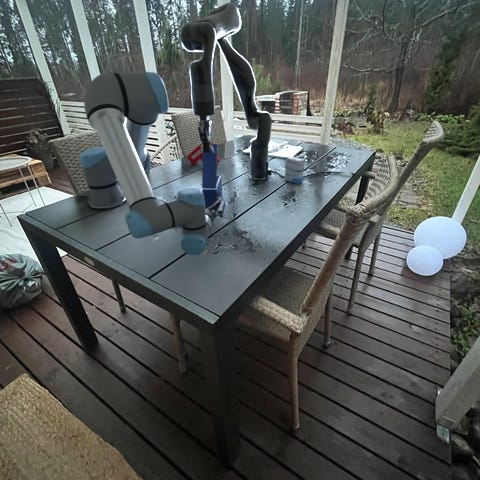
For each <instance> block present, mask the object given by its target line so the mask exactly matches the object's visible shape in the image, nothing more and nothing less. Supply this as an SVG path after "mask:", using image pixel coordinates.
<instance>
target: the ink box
mask: <svg viewBox="0 0 480 480" xmlns="http://www.w3.org/2000/svg"><path fill="white" fill-rule="evenodd" d="M305 162H306V159H304V158H299V157H296V156H294V157H289V158H287V159H286V158H285V169H284V176H285V178H284V181H285V182H289V183H293V184H295V185H298V184H300V183H302V182H303V180H304V178H303V176H304V173H305V171H304V170H305Z"/></svg>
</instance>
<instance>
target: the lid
mask: <svg viewBox="0 0 480 480" xmlns="http://www.w3.org/2000/svg"><path fill="white" fill-rule="evenodd" d="M209 148H210V149H211V150H210V152H209V153H204V152H203V160H201V163H202V166H201V188H202V189H203V188H217V175H218V164H217V156H218V144H217V143H213V144H210V145H209ZM201 149H202V150H203V145H201Z"/></svg>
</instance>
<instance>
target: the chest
mask: <svg viewBox="0 0 480 480" xmlns="http://www.w3.org/2000/svg"><path fill="white" fill-rule="evenodd" d="M201 190H202V191H203V194H204V199H205V208H208V207H209V206H212V205H213V204H214V203H215V202H216V197H217V194H218V192H220V197H221V198H222V199H223V183H222V175H218V174H217V188H202V189H201ZM218 209H219V208H218ZM218 209H217V210H216V211H215V212H217V211H218Z"/></svg>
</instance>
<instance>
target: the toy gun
mask: <svg viewBox="0 0 480 480" xmlns="http://www.w3.org/2000/svg"><path fill="white" fill-rule="evenodd" d="M210 144H214V143H213V142H212V141H211V140H210ZM201 145H203V142H201V144H199V145H198V146H197V147H195V149H193V150H192V151H191V152H190V153H188V155H186V158H187V160H188V161H189V162H190V164H192V165H195V163H197V162H199V161H200V160H201V161H202V160H203V150H202V149H201ZM220 161H221V158H220V157H219V156H218V155H217V165H219V164H220Z"/></svg>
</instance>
